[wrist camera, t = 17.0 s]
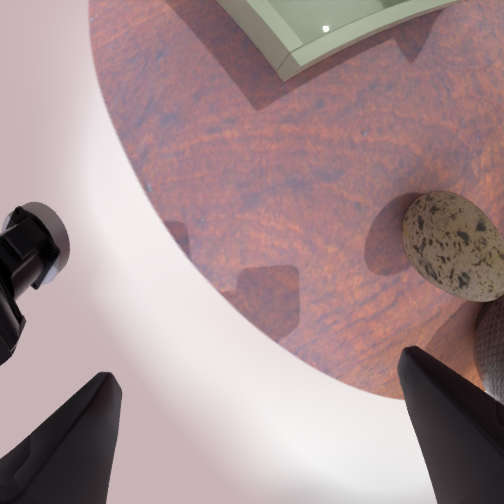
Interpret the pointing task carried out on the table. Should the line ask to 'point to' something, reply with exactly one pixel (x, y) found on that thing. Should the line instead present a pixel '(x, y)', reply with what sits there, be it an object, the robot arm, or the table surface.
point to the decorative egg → (454, 246)
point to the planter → (491, 348)
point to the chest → (318, 26)
